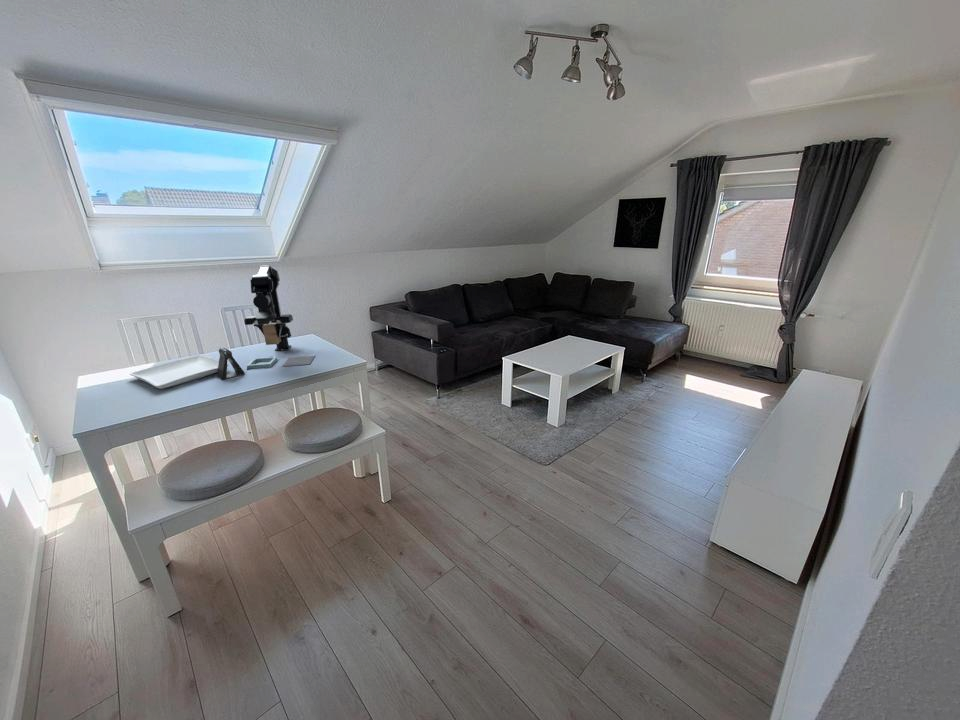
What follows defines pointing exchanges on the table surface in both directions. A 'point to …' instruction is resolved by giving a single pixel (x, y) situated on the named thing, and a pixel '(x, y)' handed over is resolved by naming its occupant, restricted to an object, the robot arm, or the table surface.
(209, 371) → the square plate
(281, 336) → the robot arm
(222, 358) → the phone stand
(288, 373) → the table surface
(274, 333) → the oak block
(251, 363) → the pocket frame
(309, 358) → the pad
